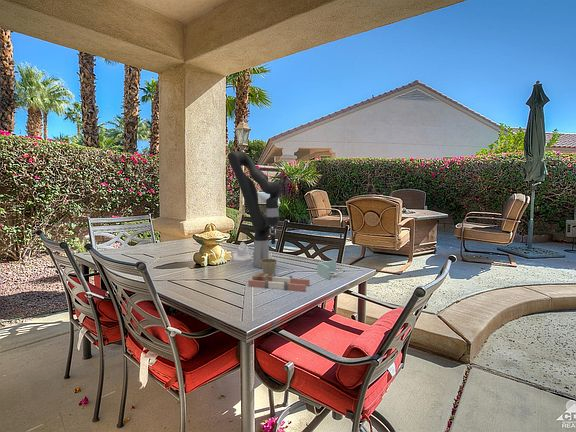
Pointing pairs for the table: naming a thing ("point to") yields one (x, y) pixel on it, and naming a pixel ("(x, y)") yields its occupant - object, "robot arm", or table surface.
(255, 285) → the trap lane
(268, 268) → the flower pot
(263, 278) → the walnut block
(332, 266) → the right angle wall
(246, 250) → the citrus juicer
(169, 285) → the table surface
